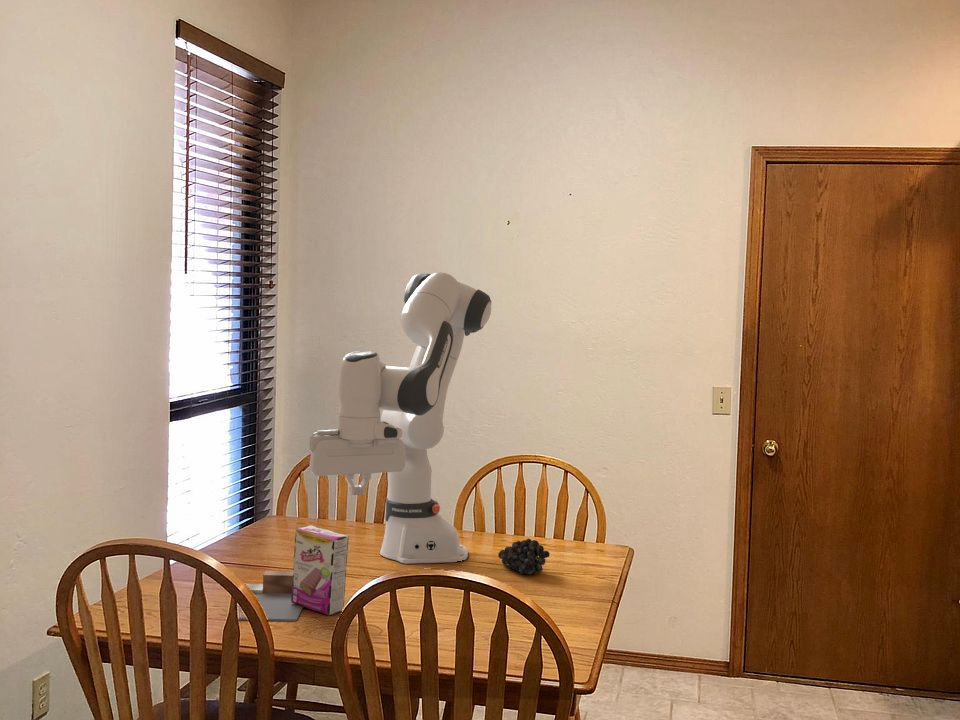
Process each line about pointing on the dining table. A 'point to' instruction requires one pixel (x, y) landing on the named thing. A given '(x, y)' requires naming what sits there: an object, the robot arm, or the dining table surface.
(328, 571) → the candy bar box
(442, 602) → the dining table surface
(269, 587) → the block
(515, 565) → the fruit
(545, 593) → the dining table surface
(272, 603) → the mat
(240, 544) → the dining table surface
